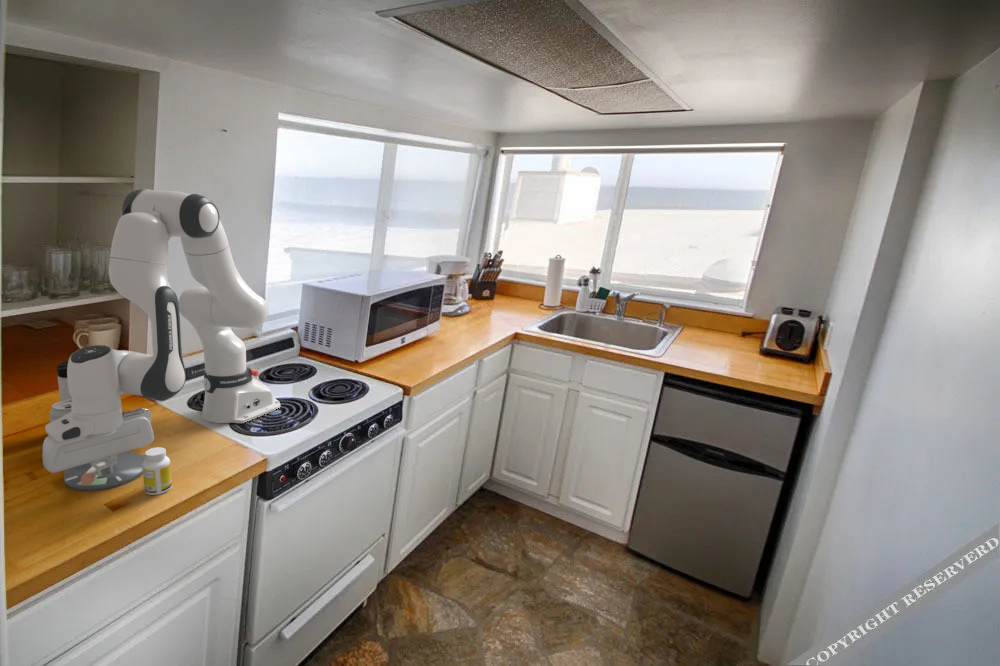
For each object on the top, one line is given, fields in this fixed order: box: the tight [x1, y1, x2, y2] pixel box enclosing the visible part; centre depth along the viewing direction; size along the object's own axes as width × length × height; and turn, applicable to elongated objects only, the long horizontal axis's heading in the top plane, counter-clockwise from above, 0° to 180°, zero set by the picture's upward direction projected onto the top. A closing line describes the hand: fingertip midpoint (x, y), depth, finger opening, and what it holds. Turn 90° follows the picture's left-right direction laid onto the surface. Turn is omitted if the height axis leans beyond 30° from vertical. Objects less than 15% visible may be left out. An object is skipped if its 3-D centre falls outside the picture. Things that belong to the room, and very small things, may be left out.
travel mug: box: [56, 360, 72, 401], centre depth 141 cm, size 6×7×20 cm
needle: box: [81, 457, 117, 485], centre depth 122 cm, size 11×4×4 cm, turn 12°
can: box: [48, 399, 73, 423], centre depth 134 cm, size 8×8×12 cm
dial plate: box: [63, 451, 146, 492], centre depth 126 cm, size 16×16×1 cm
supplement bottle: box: [142, 446, 173, 496], centre depth 121 cm, size 5×5×10 cm
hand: (104, 473), depth 120 cm, fingers closed
